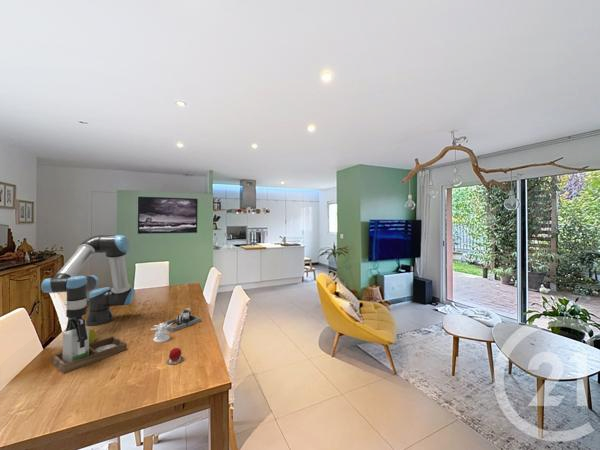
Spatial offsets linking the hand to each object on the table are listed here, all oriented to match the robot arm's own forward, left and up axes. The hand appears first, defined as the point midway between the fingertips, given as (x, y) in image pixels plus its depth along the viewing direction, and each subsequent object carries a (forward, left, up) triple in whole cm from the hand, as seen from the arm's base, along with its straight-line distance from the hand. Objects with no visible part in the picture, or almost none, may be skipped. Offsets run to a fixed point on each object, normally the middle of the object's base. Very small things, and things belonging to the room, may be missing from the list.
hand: (76, 349), depth 124 cm
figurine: (+10, +37, -7) cm, 39 cm away
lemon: (-20, +11, -7) cm, 24 cm away
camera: (-2, +60, -7) cm, 60 cm away
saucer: (0, +12, -6) cm, 14 cm away
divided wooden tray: (0, +6, -7) cm, 9 cm away
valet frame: (-1, +57, -7) cm, 58 cm away
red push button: (+39, +28, -7) cm, 49 cm away
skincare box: (0, 0, -6) cm, 6 cm away
